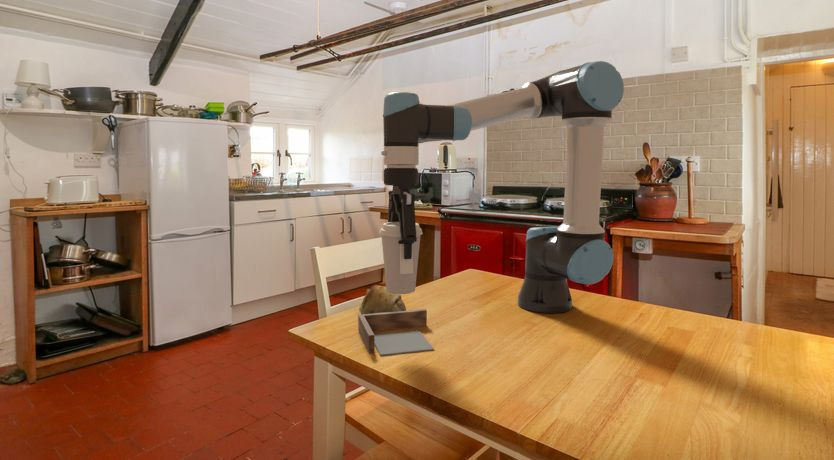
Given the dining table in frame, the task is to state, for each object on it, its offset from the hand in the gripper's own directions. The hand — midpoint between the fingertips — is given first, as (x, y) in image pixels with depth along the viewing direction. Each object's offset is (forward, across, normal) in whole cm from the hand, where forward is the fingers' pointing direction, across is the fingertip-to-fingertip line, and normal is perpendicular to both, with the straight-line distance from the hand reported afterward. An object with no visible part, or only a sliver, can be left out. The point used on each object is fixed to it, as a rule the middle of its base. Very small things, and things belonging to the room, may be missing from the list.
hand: (400, 268), depth 106 cm
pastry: (+18, -23, 0) cm, 29 cm away
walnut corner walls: (+17, -3, +1) cm, 18 cm away
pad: (+17, 0, 0) cm, 17 cm away
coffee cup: (+5, 0, 0) cm, 5 cm away
